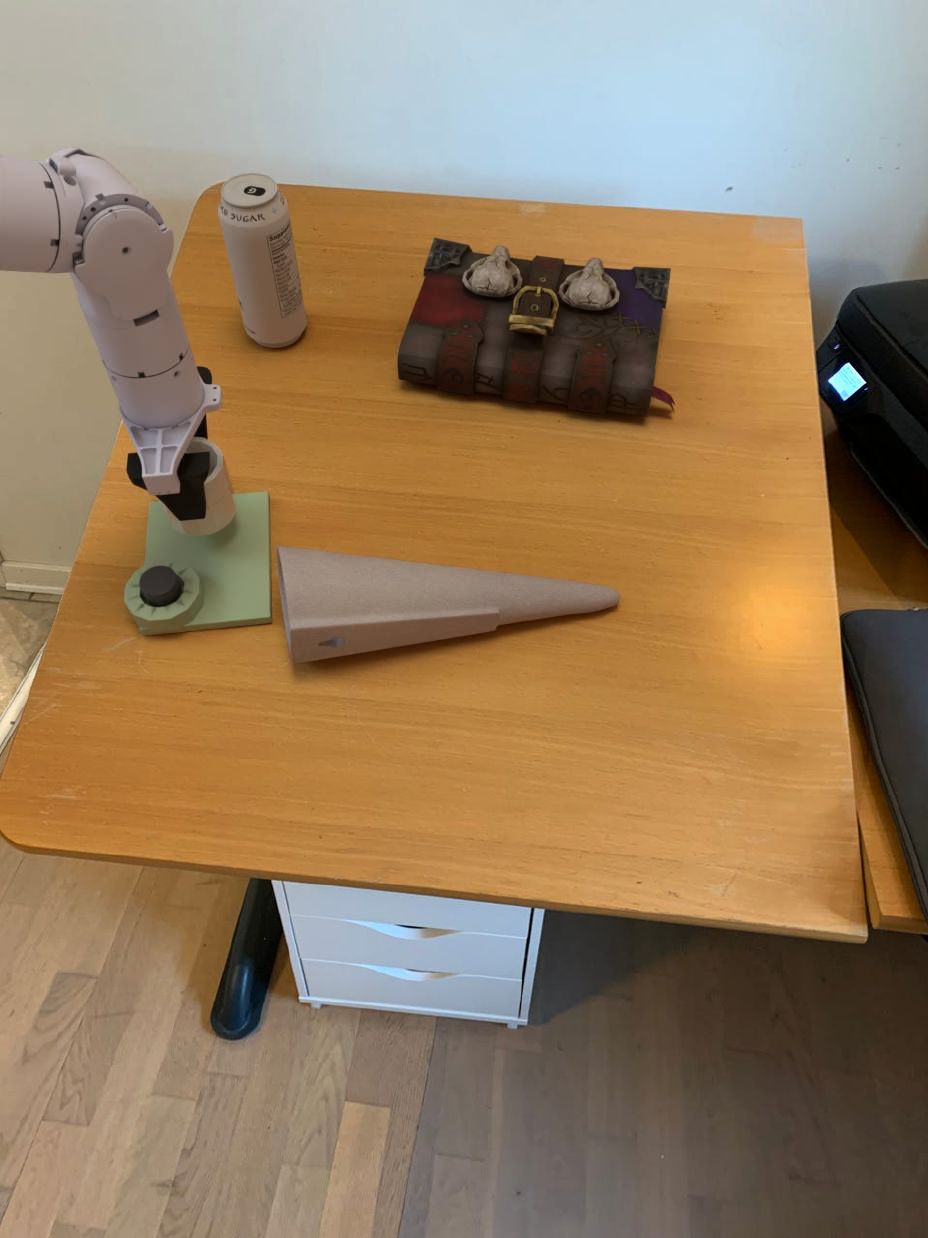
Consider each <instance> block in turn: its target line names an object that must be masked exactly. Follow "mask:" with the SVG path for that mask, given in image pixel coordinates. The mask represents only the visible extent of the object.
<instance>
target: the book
mask: <svg viewBox="0 0 928 1238" xmlns="http://www.w3.org/2000/svg"><path fill="white" fill-rule="evenodd" d="M671 272H672V268H671V267H656V266H655V267H653V266H652V267H651V266H633V267H631V269H630V268H629V269H628V268H627V269H626V268H625V269H624V268H612V267H604V263H603V260H601V259H600V257H591V258H588V260H587V262H586V263H585V265H579V264H566V263H565V259H564V258H559V257H551V256H544V255H538V254H535V256H534V257H533V258H532V259H525V258H518V257H512V256H511V253H510V249H509V248H508V247H507V246H506V245H501V244H498V245H497V246H495V247H494V248H493V251H492V253H491V254H488V253H481V252H474V250H473V249H472V247H471V246H470V245H469V244H467V243H461V242H457V241H453V240H448V239H444V238H438V237H433V240H432V243H431V246H430V248H429V252H428V255H427V257H426V260H425V264H424V267H423V277H424V279H423V281H422V284H421V286H420V289H419V292H418V294H417V298H416V299H415V303H414V305H413V308H412V311H411V313H410V316H409V318H408V321H407V323H406V327H405V329H404V332H403V335H402V337H401V339H400V341H399V342H398V344H396V347H397V348H398V350H397V351H398V352H397V361H396V363H397V377H398V380H400V381H406V382H412V383H418V384H426V385H432V386H436V387H437V390H438V391H441V392H448V393H455V394H463V395H470V396H475V394H476V392H479V393H486V394H492V395H493V394H494V395H500V396H502V400H508V401H509V400H510V401H516V402H523V403H528V404H529V403H530V404H536V403H537V401H540V402H546V403H553V404H560V405H561V404H562V405H568V410H573V411H579V412H585V413H592V414H598V415H604V416H605V414H606V411H608V412H613V413H621V414H626V415H633V416H634V415H635V416H642V417H647V416H648V413H649V408H650V403H651V400H652V398H654V399H656V400H658V401H660V402H663V403H664V404H667V405H668V406H670V408H671V410H672V412H673V413H674V414H676V413H675V409H674V406H676V403H675V400H674V399H673V396H672V395H671V394H670V393H669V392H667V391H666V390H664V389H662V388H660V387H658V386H656V385H654V383H655V376H656V365H657V358H658V351H659V343H660V334H661V328H662V319H663V311H664V309H665V310H666V308H667V302H668V296H669V287H670V278H671Z"/></svg>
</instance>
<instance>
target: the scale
mask: <svg viewBox="0 0 928 1238" xmlns="http://www.w3.org/2000/svg"><path fill="white" fill-rule="evenodd" d="M235 496H236V503H237V509H236V513H235V515H234V517H233V519H232V520H231V522H230V523H229V524H228V525H227V526H226V527H224V528H223V529H221V530H220V531H218V532H215V533H213V534H210V535H205V536H190V535H186V534H183V533H181V532H179V531H177V530H176V529H175V528H174V527H173V526H172V525H171V523H170V522H169V519H168V517H167V516H166V514H165V511H164V509H163V506H162V504H161V501H160V500H153V501H149V502H148V513H147V527H146V540H145V551H144V565H143V566H141V567H139V568H138V569H136V570H135V571H134V572H133V574H132V575H131V576H130V578H129V579H128V580H127V581H126V583H125V584H124V592H123V603H124V605H125V606H126V608H127V611H128V612H129V614H130V615H131V617H132V618H133V620H134V621H135V623H136V625H138V626H139V632H140V633H141V635H142V636H143V637H145V636H154V635H164V634H174V633H183V632H185V633H186V632H194V631H204V630H214V629H215V630H216V629H224V628H235V627H244V626H253V625H263V624H271V623H273V597H272V596H273V595H272V593H273V592H272V590H273V589H272V546H271V545H272V543H271V542H272V541H271V539H272V538H271V536H272V535H271V497H270V493H269V491H268V490H264V491H254V492H242V493H235ZM154 566H167V567H170V568H171V569H173V570H174V572H175V573H176V576H177V578H178V580H179V583H180V585H181V593H180V596H179V597H178V598H177V600H176V601H174V602H173V603H171V604H169V605H166V606H154V605H151V604H150V603H148V602H147V600H146V599H145V597H144V595H143V593H142V591H141V589H140V586H139V580H140V577H141V576H142V574H143V573H144V572H145V571H146V570H148V569H149V568H152V567H154Z"/></svg>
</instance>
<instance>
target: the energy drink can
mask: <svg viewBox="0 0 928 1238" xmlns="http://www.w3.org/2000/svg"><path fill="white" fill-rule="evenodd" d="M220 196H221V197H220V200H219V203H218V205H217V206H218V208H217V215H218V218H219V223H220V227H221V231H222V235H223V240H224V244H225V249H226V254H227V257H228V262H229V265H230V270H231V275H232V279H233V283H234V288H235V291H236V296H237V300H238V305H239V309H240V313H241V317H242V322H243V326H244V330H245V332H246V334H247V335H248V336H249V337H250V338H251V339H253V340H254V341H255V342H256V343H257V344H258V345H260V346H262V347H265V348H269V349H270V348H271V349H275V348H276V349H279V348H284V347H288V346H290V345H292V344H294V343H295V342H297V341H298V340H299V339H300V337H301V336H302V334H303V332H304V331H305V329H306V326H307V322H308V320H307V315H306V307H305V302H304V296H303V290H302V285H301V284H302V283H301V278H300V273H299V272H300V271H299V266H298V265H299V264H298V260H297V259H298V258H297V254H296V247H295V246H296V245H295V241H294V235H293V230H292V223H291V215H290V210H289V204H288V201H287V198H286V197H285V196H284V194H283V193H282V192H281V191H280V190H279V187H278V183H277V182H276V180H275V179H274V178H273V177H271V176H269V175H267V174H263V173H259V172H258V173H257V172H247V173H241V174H237V175H234V176H232V177H230V178H228V179H227V180H226V181H225V182H224V183H223V184H222V186H221V188H220Z"/></svg>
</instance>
